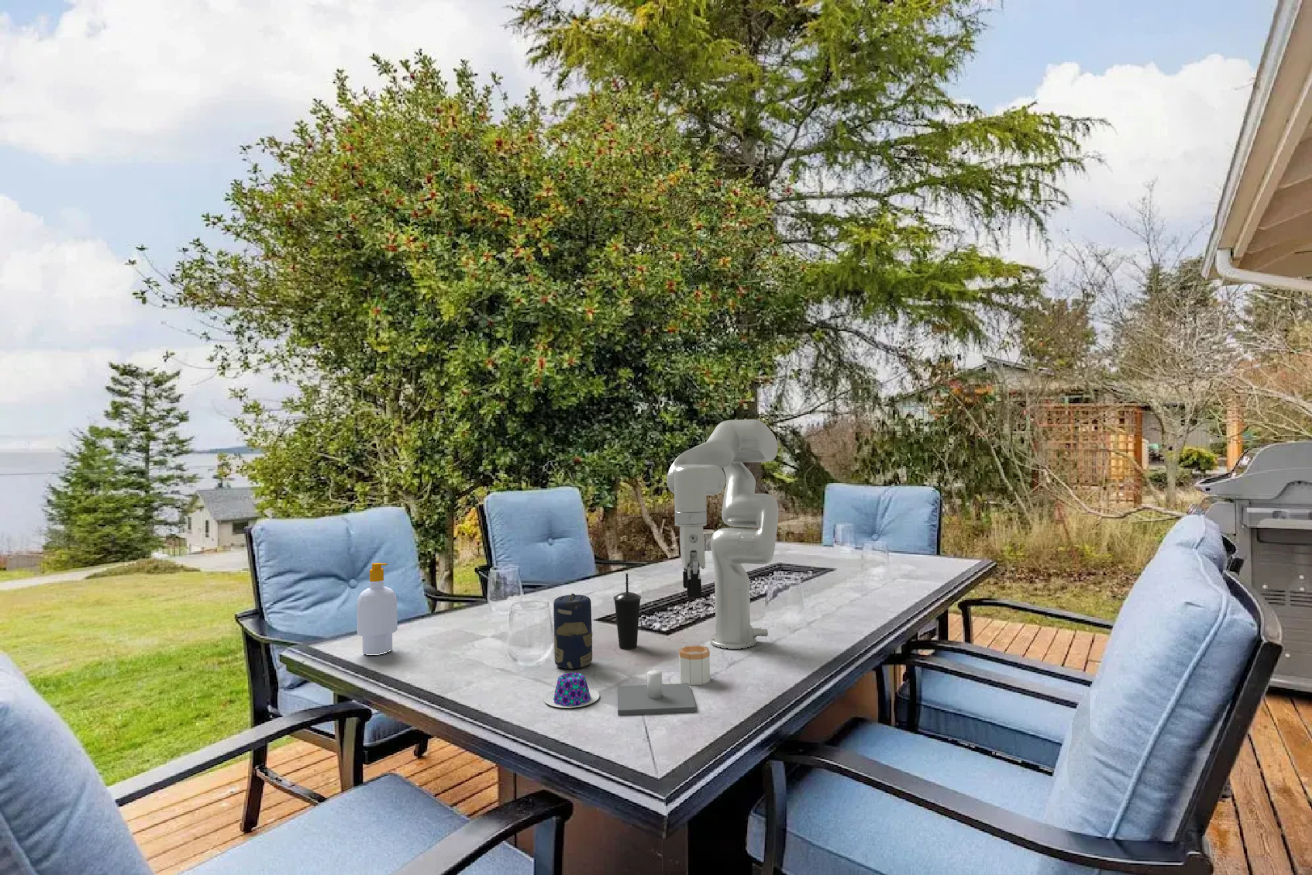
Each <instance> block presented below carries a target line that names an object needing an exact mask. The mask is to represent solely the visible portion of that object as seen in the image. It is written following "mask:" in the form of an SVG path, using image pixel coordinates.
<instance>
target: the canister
mask: <svg viewBox="0 0 1312 875" xmlns="http://www.w3.org/2000/svg"><path fill="white" fill-rule="evenodd" d="M592 624H593V622H592V600H591V598H590V597H589V596H587V595H584V594H575V593H571V594H565V595H561V596H558V597H556V598H555V599H554V600H553V644H554V645H553V646H554V648H553V650H554V652H553V654H554V655H553V656H554V657H553V658H554V664H555V665H556V666H557V667H559V668H561V669H569V670H571V669H581V668H584V667H587V666H589V665H591V663H592V661H593V625H592Z"/></svg>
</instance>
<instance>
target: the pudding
mask: <svg viewBox="0 0 1312 875" xmlns="http://www.w3.org/2000/svg"><path fill="white" fill-rule="evenodd" d="M555 685H556V686H555V689H554V690H552V691H550V692H548V693H547V694H545V696H544V698H543V701H544V702H545V703H546V704H547V705H549V706H551V707H556V708H563V709H564V708H566V709H571V708H580V707H585V706H588V705H591V704H593V703H595V702H597V700H599V698H600V693H599V692H598V691H596V690H595V689H592V688H589V687H588V681H587V678H586V676H585V675H584V674H582V673H580V672H568V673H563V674H562V675H559V677H558V678H557V680H556V684H555ZM553 696H554V698H553V700H550V698H549V697H553ZM549 701H553V703H551V702H549Z"/></svg>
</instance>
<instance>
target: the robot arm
mask: <svg viewBox="0 0 1312 875" xmlns="http://www.w3.org/2000/svg"><path fill="white" fill-rule="evenodd" d="M776 438H777V437H776V436H775V434H774V433H773V432H772V431H771V429H770V428H769V427H768V426H767V425H766V424H765V423H764V422H762V421H761V420H759V419H753V418H752V419H751V418H750V419H729V420H723V421H721V422H720V423H718V424H717V425H716V427H715V428H714V430H713V432H712V433H711V434H710V436H709V437H708V439H707V440H706V441H705V442H703V443H701V444H699V445H696V446H693V447H691V448H690V449H688V450H685V451H683V452H682V453H680V454H679V455H678V456H677V457H676V458H675V460H674V461H673V463H672V464H671V465H670V467H669V469H668V472H667V476H666V485H667V488H668V490H669V491H670V492H671V493H672V494H674V495H673V496H674V526H676V527H679V544H680V545H679V548H680V560H681V565H682V567H683V571H682V585H683V586H682V587H683V588H684V589H686V596H687V598H699V597H700V598H701V597H702V578H701V569H702V570H705V568H706V553H705V552H706V550H705V534H704V526H707V525H708V519H707V518H708V517H707V507H708V506H707V496H716V495H718V494H720V493H721V492H723V490H724V495H723V499H722V500H723V501H722V506H721V519H722V521H723V523H724V524H725V525H727V526H729V527H724V528H720V529H717V530H715V531H714V532H713V533H712V535H711V537H710V550H711V556H712V562H713V569H714V571H713V572H714V597H715V599H714V601H715V604H714V605H715V610H714V611H715V634H714V635H712V636H711V637H710V639H709V640H710V641H709V642H710V644H711V645H712V646H714V647H716V646H717V648H720V647H721V648H720V649H726V648H728V650H742V649H741V648H743V649H748V648H747V647H749V648H751V647H750V646H752V647H753V646H755V645H756V644H757V637H768V635H769V632H768V631H769V630H768V629H767V628H762V627H753V626H752V625H751V598H750V596H751V594H750V588H751V587H750V578H749V575H748V573H747V571H746V570H745V568H744V567H743V564H746V565H748V564H749V565H767V564H770V563H771V562H772V560H773V558H774V555H775V550H776V541H777V540H776V539H777V532H778V524H779V505H778V500H777V499H776V498H775V496H774V495H771V494H769V493H755V492H756V491H755V490H756V486H757V485H756V484H757V482H756V478H755V476H754V475H753V473H752V472H751V471H750V469H748V468H747V467H746V466H745V464H744V463H767V462H768V463H769V462H772V461H774V460H775V459H776V457H777V455H778V452H779V451H778V448H779V447H778V446H779V445H778V441H777V439H776ZM724 488H725V489H724ZM700 568H701V569H700Z"/></svg>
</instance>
